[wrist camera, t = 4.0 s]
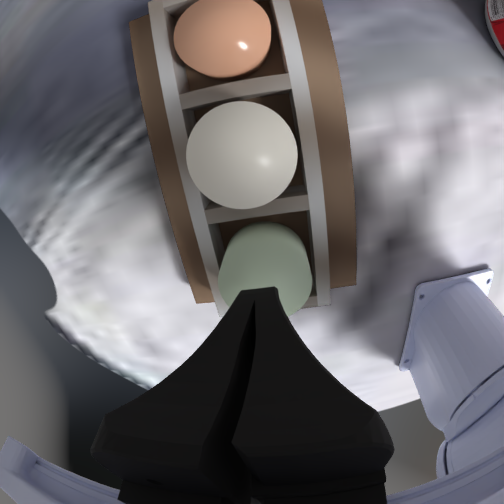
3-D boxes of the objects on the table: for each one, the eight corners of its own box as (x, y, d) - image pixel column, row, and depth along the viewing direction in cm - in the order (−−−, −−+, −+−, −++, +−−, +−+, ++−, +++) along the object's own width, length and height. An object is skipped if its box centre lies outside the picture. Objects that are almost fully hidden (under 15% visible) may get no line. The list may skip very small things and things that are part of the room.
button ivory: (298, 186, 12) (304, 201, 10) (211, 199, 13) (199, 216, 11) (284, 97, 11) (287, 93, 9) (192, 115, 11) (176, 115, 9)
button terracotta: (278, 73, 11) (279, 64, 9) (195, 89, 12) (181, 84, 10) (262, 4, 10) (261, -14, 8) (182, 22, 10) (167, 7, 8)
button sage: (309, 288, 15) (314, 315, 13) (234, 297, 15) (229, 325, 13) (302, 215, 13) (308, 235, 11) (217, 227, 13) (207, 249, 11)
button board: (350, 272, 18) (364, 304, 15) (201, 290, 19) (188, 323, 16) (312, -8, 10) (322, -35, 7) (139, 28, 11) (111, 12, 8)
